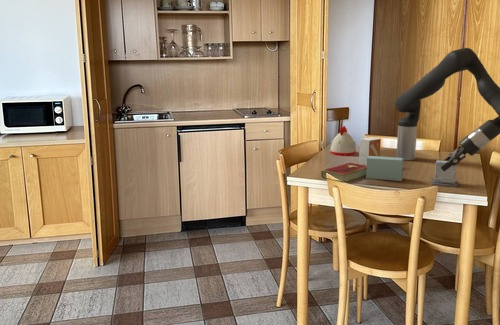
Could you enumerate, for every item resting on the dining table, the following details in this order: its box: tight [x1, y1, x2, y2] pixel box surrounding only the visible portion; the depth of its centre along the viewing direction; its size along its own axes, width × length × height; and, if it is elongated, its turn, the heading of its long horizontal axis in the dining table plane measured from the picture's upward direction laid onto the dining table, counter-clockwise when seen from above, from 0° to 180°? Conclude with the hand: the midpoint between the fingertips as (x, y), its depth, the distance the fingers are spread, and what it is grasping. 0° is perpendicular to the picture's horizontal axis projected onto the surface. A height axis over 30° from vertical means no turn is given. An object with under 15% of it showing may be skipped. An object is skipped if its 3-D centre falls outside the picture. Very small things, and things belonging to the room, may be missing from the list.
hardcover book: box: [320, 162, 367, 183], centre depth 215 cm, size 12×21×4 cm, turn 133°
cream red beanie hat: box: [329, 125, 357, 157], centre depth 260 cm, size 14×14×15 cm
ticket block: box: [365, 156, 405, 182], centre depth 209 cm, size 5×15×9 cm, turn 69°
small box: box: [358, 136, 382, 166], centre depth 234 cm, size 8×6×13 cm
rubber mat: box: [430, 177, 458, 188], centre depth 201 cm, size 9×10×1 cm
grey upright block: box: [434, 160, 457, 184], centre depth 200 cm, size 8×4×9 cm, turn 69°
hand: (442, 167), depth 199 cm, fingers open, 8 cm apart
